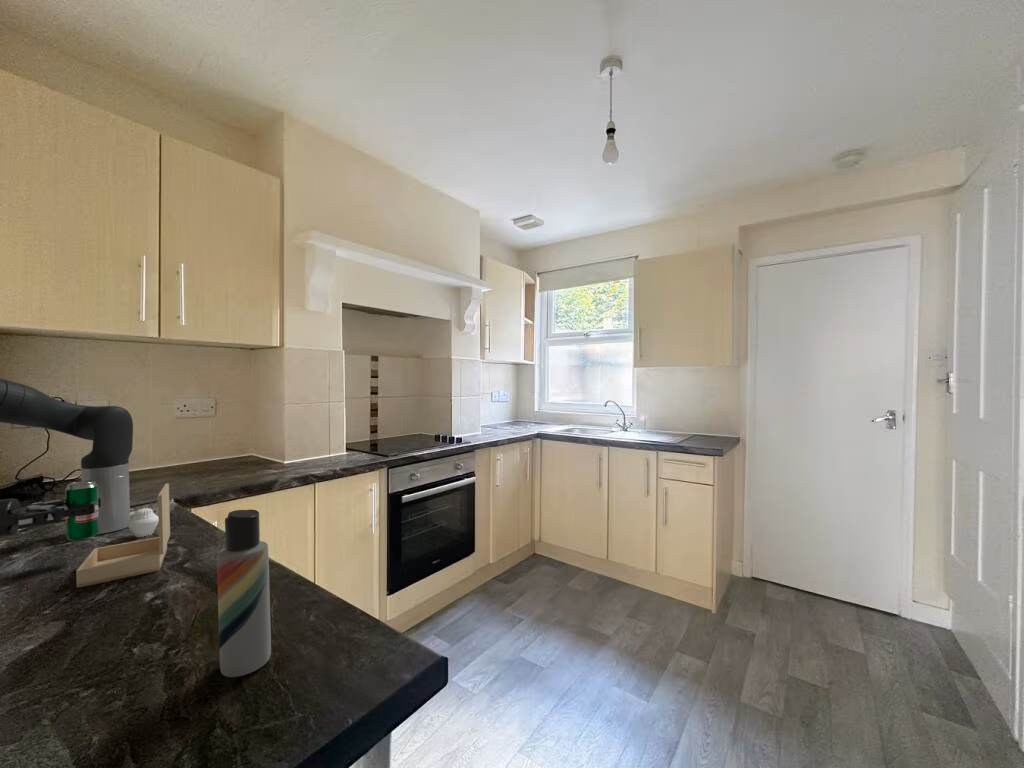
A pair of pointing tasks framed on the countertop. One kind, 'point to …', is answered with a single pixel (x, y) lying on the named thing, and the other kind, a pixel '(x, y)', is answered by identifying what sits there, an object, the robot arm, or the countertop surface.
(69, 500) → the soda can
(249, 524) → the lotion bottle
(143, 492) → the countertop surface
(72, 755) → the countertop surface
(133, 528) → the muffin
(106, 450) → the robot arm
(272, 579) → the countertop surface
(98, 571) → the mailer box
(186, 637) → the countertop surface
